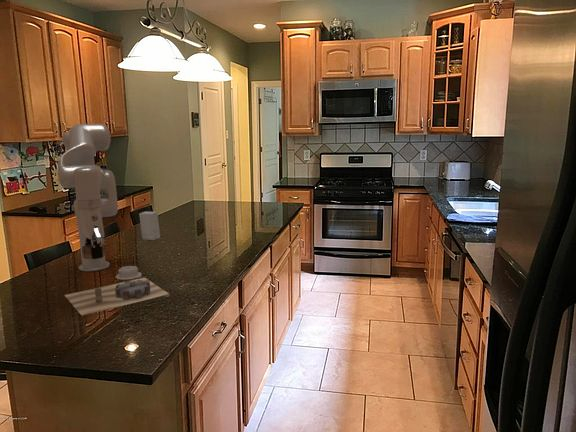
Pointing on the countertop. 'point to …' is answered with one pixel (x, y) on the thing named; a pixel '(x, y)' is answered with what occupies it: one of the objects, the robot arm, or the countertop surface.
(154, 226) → the skincare box
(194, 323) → the countertop surface
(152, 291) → the gear board
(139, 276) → the mechanical component
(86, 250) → the walnut gear
